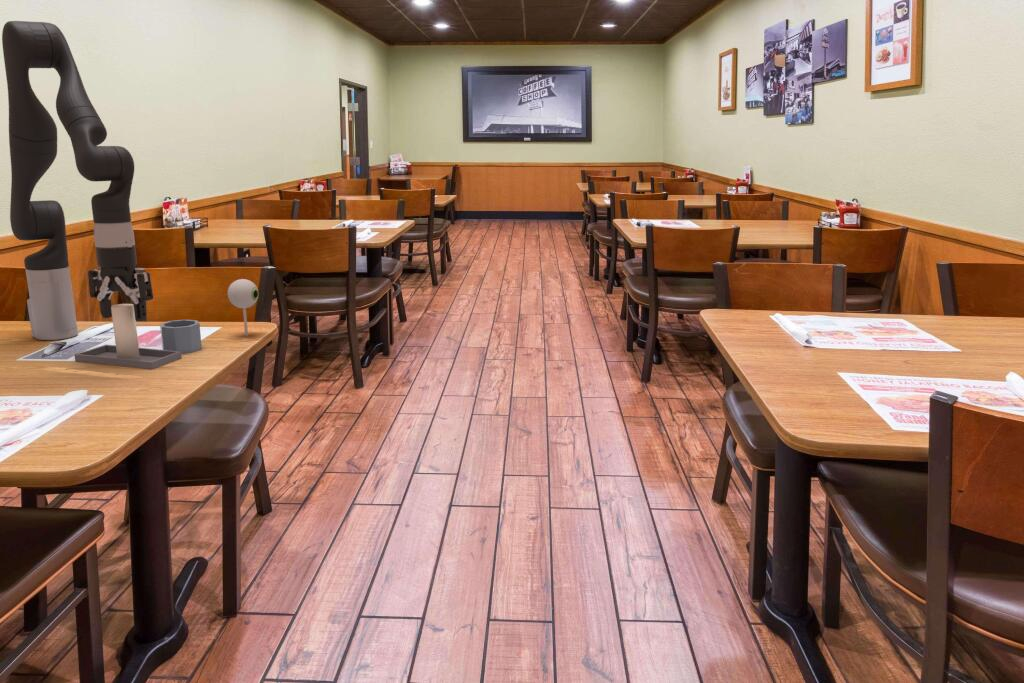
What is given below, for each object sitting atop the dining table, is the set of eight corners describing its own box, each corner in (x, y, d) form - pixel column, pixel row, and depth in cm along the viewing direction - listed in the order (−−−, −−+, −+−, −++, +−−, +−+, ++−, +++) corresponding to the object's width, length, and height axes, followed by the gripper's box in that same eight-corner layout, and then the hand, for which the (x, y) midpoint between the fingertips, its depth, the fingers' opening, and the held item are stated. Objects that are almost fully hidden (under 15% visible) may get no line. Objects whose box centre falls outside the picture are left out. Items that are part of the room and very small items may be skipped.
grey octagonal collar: (155, 356, 175) (152, 326, 174) (179, 347, 183) (176, 318, 181) (185, 359, 173) (182, 328, 171) (208, 350, 181) (206, 321, 179)
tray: (75, 365, 167) (74, 354, 167) (107, 355, 176) (106, 344, 175) (153, 373, 162) (151, 362, 162) (182, 362, 171) (180, 351, 170)
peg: (112, 361, 167) (106, 307, 164) (127, 356, 171) (121, 303, 168) (129, 363, 166) (123, 308, 163) (144, 357, 170) (138, 304, 167)
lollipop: (252, 343, 187) (247, 282, 183) (225, 341, 189) (220, 281, 185) (267, 336, 194) (262, 277, 190) (241, 334, 195) (236, 276, 192)
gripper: (73, 244, 161) (83, 320, 165) (130, 247, 157) (139, 325, 161) (101, 240, 168) (110, 313, 172) (156, 243, 164) (164, 317, 168)
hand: (124, 318), depth 167 cm, fingers open, 8 cm apart
